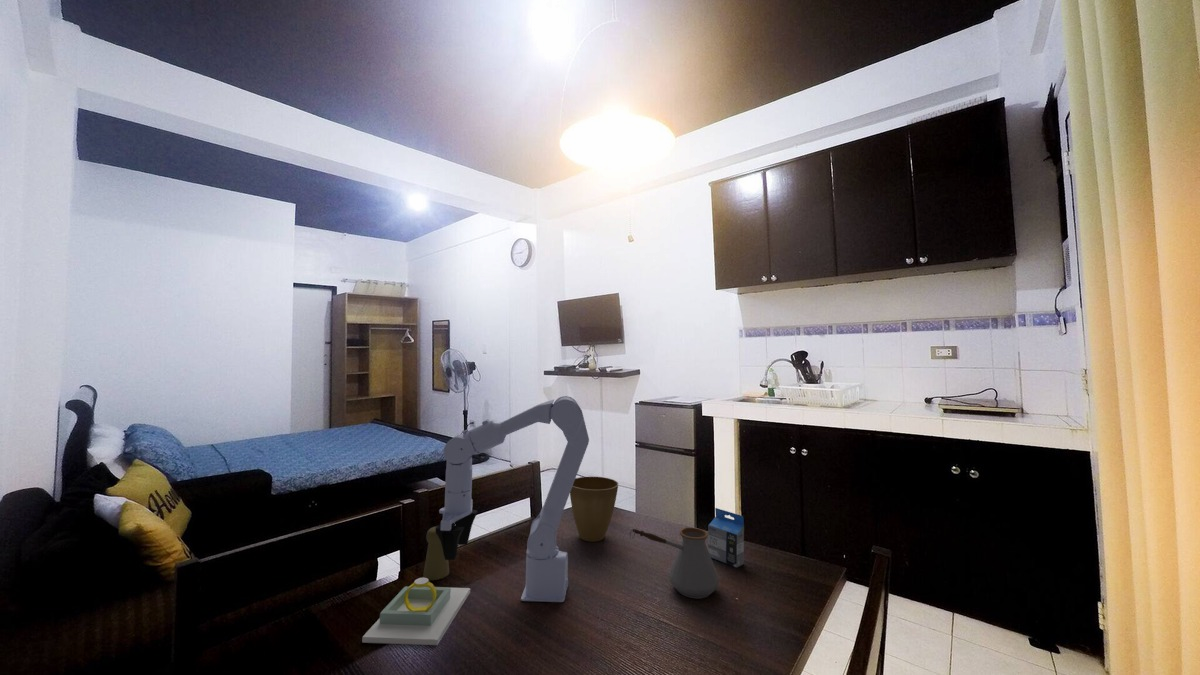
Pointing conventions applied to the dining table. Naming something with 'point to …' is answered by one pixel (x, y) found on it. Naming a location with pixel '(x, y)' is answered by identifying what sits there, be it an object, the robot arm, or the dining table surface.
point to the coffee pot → (690, 563)
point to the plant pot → (593, 506)
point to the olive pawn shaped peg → (435, 558)
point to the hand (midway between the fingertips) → (456, 551)
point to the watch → (420, 583)
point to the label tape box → (726, 538)
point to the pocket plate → (417, 617)
